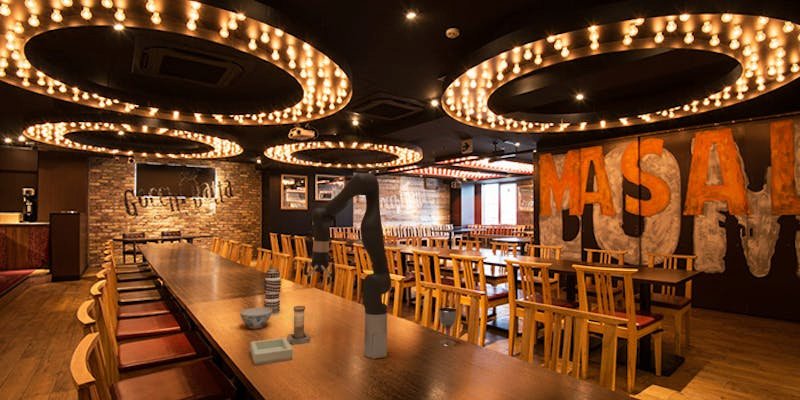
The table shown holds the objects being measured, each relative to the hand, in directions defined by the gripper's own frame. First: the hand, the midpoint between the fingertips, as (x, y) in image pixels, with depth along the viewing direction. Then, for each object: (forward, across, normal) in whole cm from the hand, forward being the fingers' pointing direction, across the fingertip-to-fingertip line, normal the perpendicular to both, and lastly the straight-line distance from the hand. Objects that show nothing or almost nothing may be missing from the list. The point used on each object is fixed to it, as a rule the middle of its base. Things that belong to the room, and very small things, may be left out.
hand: (318, 284), depth 188 cm
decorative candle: (+27, -29, +39) cm, 56 cm away
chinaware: (+26, -31, +14) cm, 43 cm away
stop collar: (+24, -6, -9) cm, 26 cm away
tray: (+23, -14, -27) cm, 38 cm away
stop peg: (+24, -6, -9) cm, 26 cm away
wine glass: (+20, +60, -15) cm, 66 cm away
